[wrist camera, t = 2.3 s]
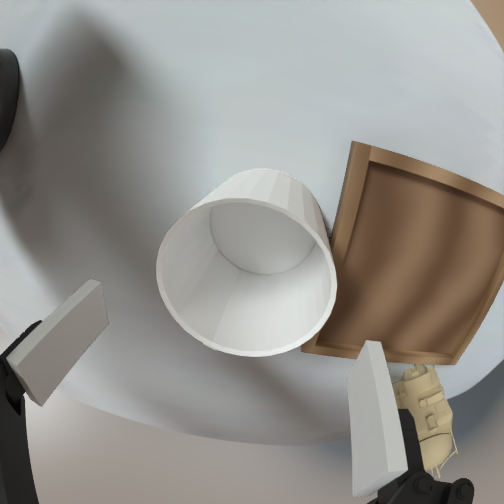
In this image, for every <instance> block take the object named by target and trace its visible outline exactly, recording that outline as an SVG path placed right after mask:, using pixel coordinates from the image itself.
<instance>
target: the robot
mask: <svg viewBox="0 0 504 504" xmlns="http://www.w3.org/2000/svg"><path fill="white" fill-rule="evenodd" d="M392 387H393V391H394V396H395V400H396V405H397V409H408V410H409V411H410V413H411V414H412V416H413V417H414V420H415V425H416V431H417V434H418V439H419V443H420V448H421V454H422V459H423V465H424V469H425V470H430V469H433V468H435V467H436V469H437V472H438V473H437V474H438V476H439V478H441V477H440V474H439V471H438V468H437V466H439V465H440V464H441V463H442V462H444V461H445V459H446V458H447V457H448V455H449V453H450V451H451V447H452V437H453V434H452V431H451V430H452V416H453V415H452V410H451V409H450V406H449V404H448V402H447V400H446V399H444V398H443V395H444V389H443V387H442V386H441V384H440V382H439V379H438V376H437V373H436V371H435V368H434V365H433V366H431V367H429V368H426V367H425V366H424V365H423V364H419V365H416V364H415V367H414V368H412V369H411V368H409V369H408V370H406V371H405V372H404V374H403V380H401V381H398V382H396V383H394V384H393V385H392ZM451 434H452V437H451ZM453 441H454V439H453ZM454 444H455V442H454ZM455 447H456V445H455ZM456 451H457V449H456ZM456 451H455V452H456ZM455 452H454V453H455ZM457 454H458V452H457ZM451 455H452V454H451ZM451 455H450V456H451ZM448 458H449V457H448ZM446 461H447V460H446ZM446 461H445V462H446ZM442 466H443V465H442ZM440 469H441V468H440ZM432 477H433V476H432Z"/></svg>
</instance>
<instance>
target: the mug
mask: <svg viewBox="0 0 504 504" xmlns="http://www.w3.org/2000/svg"><path fill="white" fill-rule="evenodd" d="M156 279H157V283H158V288H159V292H160V294H161V297H162V299H163V301H164V304H165V306H166V307H167V309H168V310H169V312H170V313H171V315H172V316H173V318H174V319H175V320H176V321H177V322H178V323H179V325H180V326H181V327H182V328H183V329H184V330H185V331H187V332H188V333H189V334H191V335H192V336H193V337H194V338H196V339H197V340H199V341H201V342H202V343H203V344H204V345H205V346H207V347H209V348H211V349H213V350H215V351H217V350H220V351H222V352H225V353H230V354H234V355H239V356H250V357H260V356H271V355H275V354H280V353H284V352H287V351H289V350H291V349H294V348H296V347H298V346H300V345H302V344H303V343H305V342H306V341H308V340H309V339H311V338H312V337H313V336H314V335H315V334H316V333H317V332H318V331H319V330H320V329H321V328H322V327H323V325H324V324H325V322H326V321H327V319H328V317H329V316H330V314H331V311H332V308H333V306H334V303H335V299H336V291H337V279H336V271H335V265H334V261H333V257H332V253H331V249H330V245H329V241H328V237H327V233H326V229H325V225H324V222H323V218H322V214H321V211H320V208H319V206H318V203H317V201H316V199H315V198H314V196H313V195H312V193H311V192H310V190H309V189H308V188H307V187H306V186H305V185H304V184H303V183H301V182H300V181H299V180H297V179H296V178H294V177H292V176H291V175H289V174H286V173H284V172H281V171H278V170H272V169H251V170H247V171H243V172H240V173H238V174H236V175H234V176H232V177H230V178H229V179H228V180H226V181H225V182H224V183H222V184H221V185H220V186H218V187H217V188H216V189H215V190H213V191H212V192H211V193H210V194H208V195H207V196H206V197H205V198H203V199H202V200H201V201H200V202H199V203H197V204H196V205H195V206H194V207H192V208H191V209H190V210H189V211H188V212H186V213H185V214H184V215H183V216H182V217H181V218H179V219H178V220H177V221H176V222H175V223H174V224H173V226H172V227H171V228H170V229H169V231H168V232H167V233H166V235H165V237H164V239H163V241H162V243H161V245H160V248H159V251H158V256H157V261H156Z"/></svg>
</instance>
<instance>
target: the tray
mask: <svg viewBox="0 0 504 504" xmlns="http://www.w3.org/2000/svg"><path fill="white" fill-rule="evenodd" d="M329 245H330V249H331V253H332V257H333V261H334V265H335V271H336V279H337V291H336V299H335V303H334V306H333V308H332V311H331V314H330V316H329V317H328V319H327V321H326V322H325V324H324V325H323V327H322V328H321V329H320V330H319V331H318V332H317V333H316V334H315V335H314V336H313V337H312V338H311V339H309V340H308V341H306V342H305V343H303V344H302V345H301V352H305V353H312V354H319V355H326V356H334V357H342V358H351V359H357V358H358V356H359V354H360V352H361V350H362V348H363V346H364V344H365V341H366V340H370V341H378V342H381V345H382V348H383V352H384V356H385V359H386V362H394V363H410V364H434V365H455V364H456V363H457V361H458V360H459V358H460V357H461V355H462V354H463V353H464V351H465V349H466V348H467V346H468V345H469V343H470V342H471V340H472V339H473V337H474V335H475V334H476V332H477V330H478V329H479V327H480V325H481V323H482V322H483V320H484V318H485V316H486V315H487V313H488V311H489V309H490V307H491V305H492V303H493V301H494V299H495V297H496V295H497V293H498V291H499V289H500V287H501V285H502V283H503V281H504V195H502V194H500V193H498V192H496V191H494V190H491V189H489V188H487V187H485V186H483V185H481V184H478V183H476V182H474V181H471V180H469V179H467V178H464V177H462V176H460V175H457V174H455V173H452V172H450V171H447V170H444V169H442V168H439V167H436V166H434V165H431V164H428V163H425V162H422V161H420V160H417V159H414V158H411V157H408V156H404V155H401V154H398V153H395V152H392V151H388V150H385V149H381V148H378V147H374V146H371V145H367V144H363V143H359V142H355V141H352V143H351V148H350V153H349V158H348V163H347V168H346V173H345V178H344V183H343V187H342V192H341V196H340V201H339V205H338V209H337V213H336V218H335V222H334V226H333V230H332V234H331V238H330V242H329Z"/></svg>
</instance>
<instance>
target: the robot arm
mask: <svg viewBox="0 0 504 504" xmlns="http://www.w3.org/2000/svg"><path fill="white" fill-rule="evenodd" d="M18 85H19V74H18V65H17V60H16V57H15V55H14V54H13V52H12V51H11V50H9V49H0V150H1V149H2V147H3V146H4V144H5V142H6V140H7V137H8V135H9V132H10V129H11V126H12V122H13V118H14V114H15V109H16V103H17V96H18ZM108 324H109V323H108V318H107V313H106V307H105V302H104V296H103V290H102V284H101V282H99V281H96V280H93V279H89V280H88V281H87V282H86V283H85V284H84V285H82V286H81V287H80V288H79V289H78V290H77V291H75V292H74V293H73V294H72V295H71V296H70V297H69V298H68V299H66V300H65V301H64V302H63V303H62V304H61V305H60V306H59V307H58V308H56V309H55V310H54V311H53V312H52V313H51V314H50V315H49V316H48V317H47V318H46V319H45V320H44V321H41V320H39V321H37V322H35V323H34V324H32V325H31V326H29V327H28V328H27V329H26V330H25V332H23V333H22V334H21V335H20V337H18V338H17V339H16V340H15V341H14V342H13V343H12V344H11V345H10V346H9V347H8V348H7V349H6V350H5V351H4V352H3V353H2V354H1V355H0V504H39V502H38V498H37V494H36V490H35V485H34V480H33V475H32V469H31V463H30V457H29V449H28V441H27V431H26V417H25V399H24V396H23V394H24V393H25V392H26V393H27V394H28V396H29V398H30V399H31V400H32V401H34V402H35V403H37V404H38V405H39V406H41V407H42V406H43V405H44V403H45V402H46V401H47V399H48V398H49V397H50V395H51V394H52V393H53V391H54V390H55V389H56V387H57V386H58V385H59V384H60V382H61V381H62V380H63V378H64V377H65V376H66V375H67V373H68V372H69V371H70V370H71V368H72V367H73V366H74V365H75V363H76V362H77V361H78V360H79V358H80V357H81V356H82V355H83V353H84V352H85V351H86V350H87V349H88V347H89V346H90V345H91V344H92V343H93V341H94V340H95V339H96V338H97V337H98V335H99V334H100V333H101V332H102V331H103V330H104V328H105V327H106V326H107V325H108ZM346 380H347V391H348V402H349V414H350V428H351V444H352V445H351V446H352V476H353V496H366V495H372V494H373V493H375V492H376V491H378V497H377V498H375V499H374V500H372V501H370V502H369V503H367V504H472V501H473V497H474V486H473V484H472V482H471V481H470V480H469V479H467V478H460V479H458V480H456V481H455V482H453V483H447V482H440V481H435V480H434V479H433V477H432V476H431V475H430V474H428V473H426V472H425V469H424V465H423V459H422V454H421V448H420V443H419V439H418V434H417V431H416V425H415V420H414V417H413V416H412V414H411V413H410V411H409V410H408V409H397V405H396V400H395V396H394V391H393V387H392V383H391V379H390V375H389V371H388V367H387V363H386V359H385V356H384V352H383V348H382V345H381V342H378V341H370V340H366V341H365V344H364V346H363V348H362V350H361V352H360V354H359V356H358V358H357V359H356V361H355V363H354V365H353V367H352V369H351V371H350V373H349V375H348V376H347V378H346Z"/></svg>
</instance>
